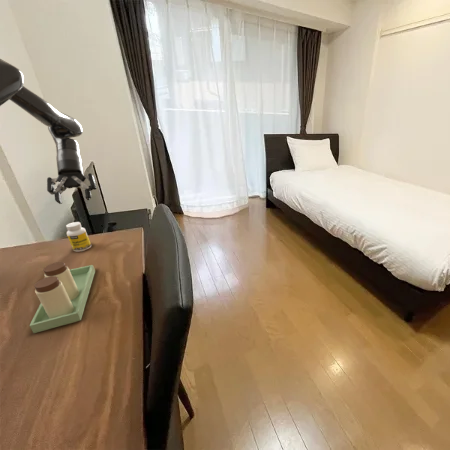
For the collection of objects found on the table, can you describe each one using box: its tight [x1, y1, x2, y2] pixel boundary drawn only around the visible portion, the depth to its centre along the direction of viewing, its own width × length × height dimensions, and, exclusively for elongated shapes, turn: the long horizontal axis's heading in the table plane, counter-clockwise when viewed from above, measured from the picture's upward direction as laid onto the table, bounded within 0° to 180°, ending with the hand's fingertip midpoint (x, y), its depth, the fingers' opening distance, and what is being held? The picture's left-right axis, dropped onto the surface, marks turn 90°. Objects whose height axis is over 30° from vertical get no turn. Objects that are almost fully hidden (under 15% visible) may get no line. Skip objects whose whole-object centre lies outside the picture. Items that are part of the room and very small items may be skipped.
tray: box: [29, 264, 96, 334], centre depth 75 cm, size 23×9×2 cm, turn 27°
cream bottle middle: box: [42, 261, 80, 300], centre depth 73 cm, size 5×5×10 cm
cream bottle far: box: [33, 276, 74, 319], centre depth 67 cm, size 5×5×10 cm
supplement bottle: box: [65, 221, 92, 253], centre depth 97 cm, size 5×5×10 cm
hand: (74, 201), depth 101 cm, fingers open, 8 cm apart
